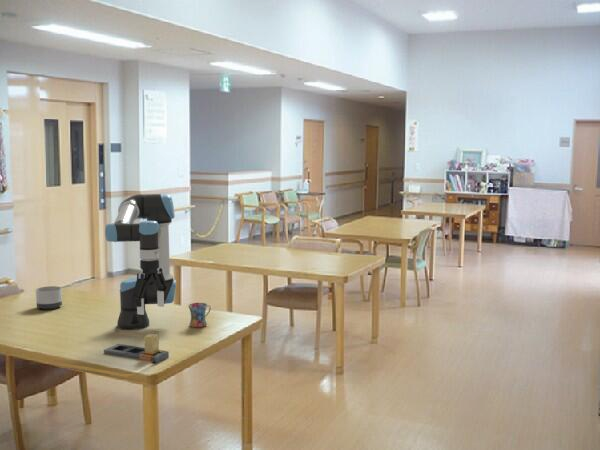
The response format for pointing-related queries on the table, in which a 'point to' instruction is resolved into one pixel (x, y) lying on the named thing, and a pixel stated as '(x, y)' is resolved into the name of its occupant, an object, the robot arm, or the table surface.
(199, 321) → the mug
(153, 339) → the tan rectangular block
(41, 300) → the planter
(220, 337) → the table surface
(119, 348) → the rail
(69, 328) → the table surface
